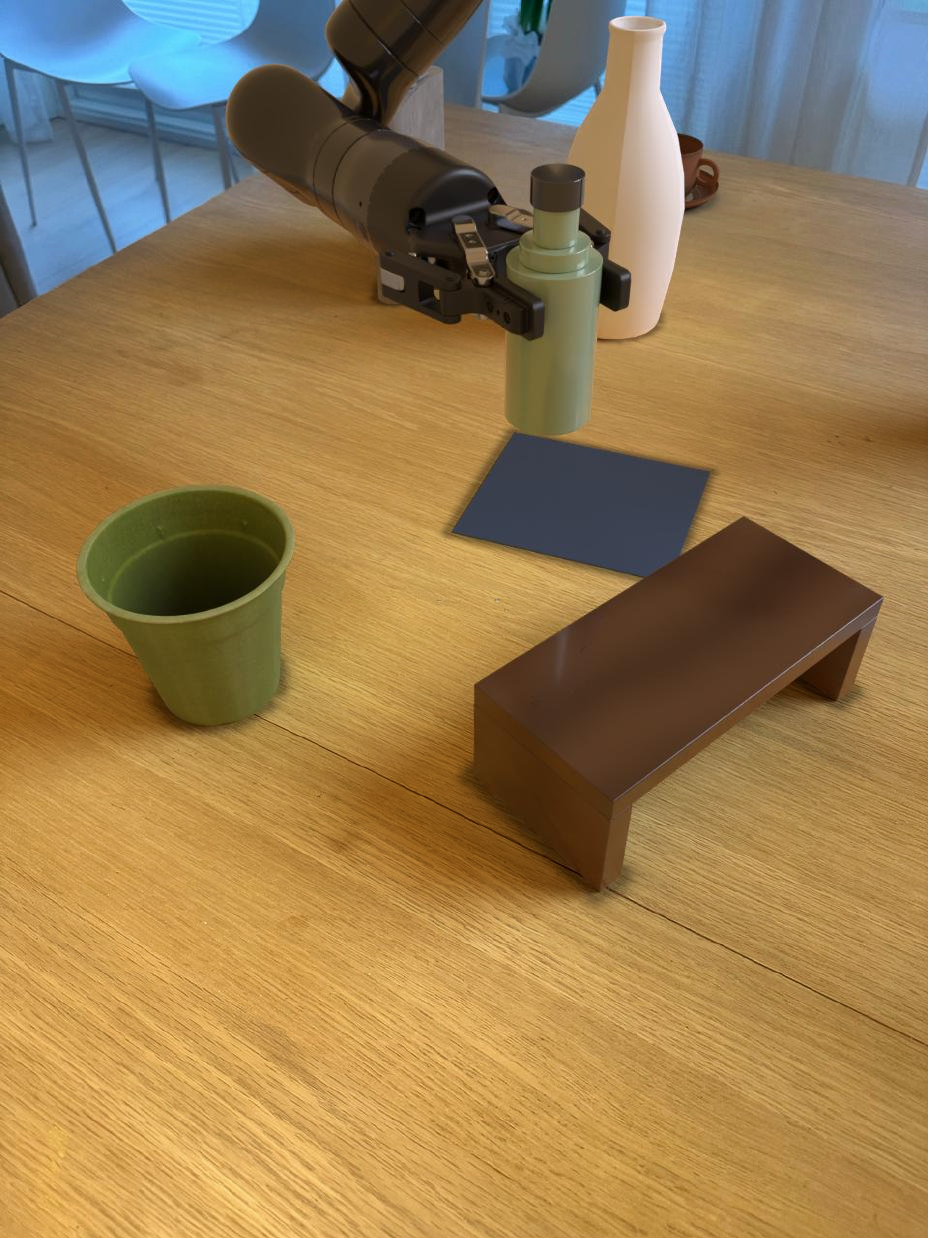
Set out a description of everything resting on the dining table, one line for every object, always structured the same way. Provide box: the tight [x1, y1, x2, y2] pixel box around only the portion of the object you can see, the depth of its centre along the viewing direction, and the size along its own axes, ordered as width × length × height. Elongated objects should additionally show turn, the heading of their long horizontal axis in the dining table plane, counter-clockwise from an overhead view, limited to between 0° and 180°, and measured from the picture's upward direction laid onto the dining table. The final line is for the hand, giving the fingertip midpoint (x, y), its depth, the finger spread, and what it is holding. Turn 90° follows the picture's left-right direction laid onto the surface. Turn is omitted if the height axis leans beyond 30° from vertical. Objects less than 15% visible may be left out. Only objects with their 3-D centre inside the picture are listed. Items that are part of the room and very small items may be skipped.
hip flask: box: [374, 64, 446, 305], centre depth 101 cm, size 16×4×20 cm, turn 165°
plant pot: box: [75, 484, 296, 727], centre depth 62 cm, size 12×12×11 cm
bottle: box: [565, 15, 686, 340], centre depth 92 cm, size 11×11×25 cm
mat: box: [451, 431, 711, 579], centre depth 79 cm, size 16×14×1 cm
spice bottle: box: [503, 162, 603, 437], centre depth 58 cm, size 5×5×14 cm
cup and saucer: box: [677, 132, 721, 210], centre depth 120 cm, size 12×12×6 cm
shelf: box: [473, 515, 885, 893], centre depth 60 cm, size 10×22×8 cm, turn 130°
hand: (582, 307), depth 56 cm, fingers closed on spice bottle, 5 cm apart
